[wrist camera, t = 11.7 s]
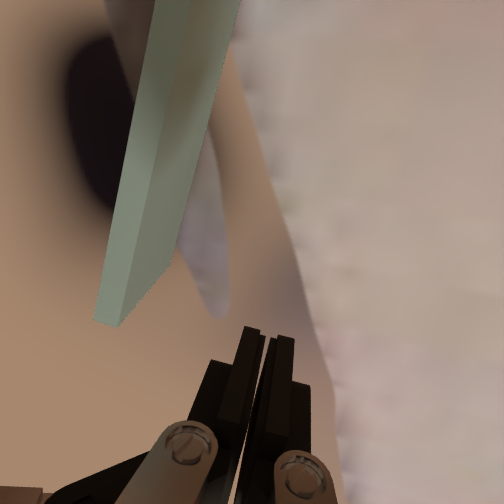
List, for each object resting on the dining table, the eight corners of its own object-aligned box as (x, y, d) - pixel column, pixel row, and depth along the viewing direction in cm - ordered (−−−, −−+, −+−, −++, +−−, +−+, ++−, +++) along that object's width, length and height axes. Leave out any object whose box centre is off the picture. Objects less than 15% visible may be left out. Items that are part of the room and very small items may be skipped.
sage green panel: (170, 264, 25) (117, 328, 18) (144, 256, 25) (81, 315, 18) (287, -173, 17) (279, -394, 10) (249, -187, 17) (213, -418, 10)
